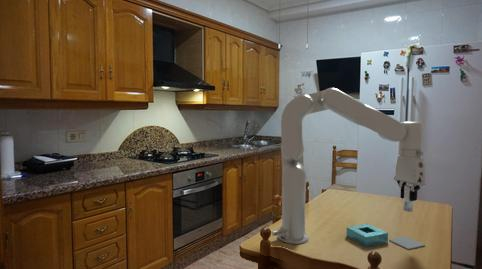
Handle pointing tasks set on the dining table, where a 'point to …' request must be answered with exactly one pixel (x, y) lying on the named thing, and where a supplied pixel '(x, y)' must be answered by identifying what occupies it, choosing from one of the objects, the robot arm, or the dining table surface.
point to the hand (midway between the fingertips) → (408, 198)
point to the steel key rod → (407, 199)
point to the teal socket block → (367, 235)
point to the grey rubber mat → (407, 242)
